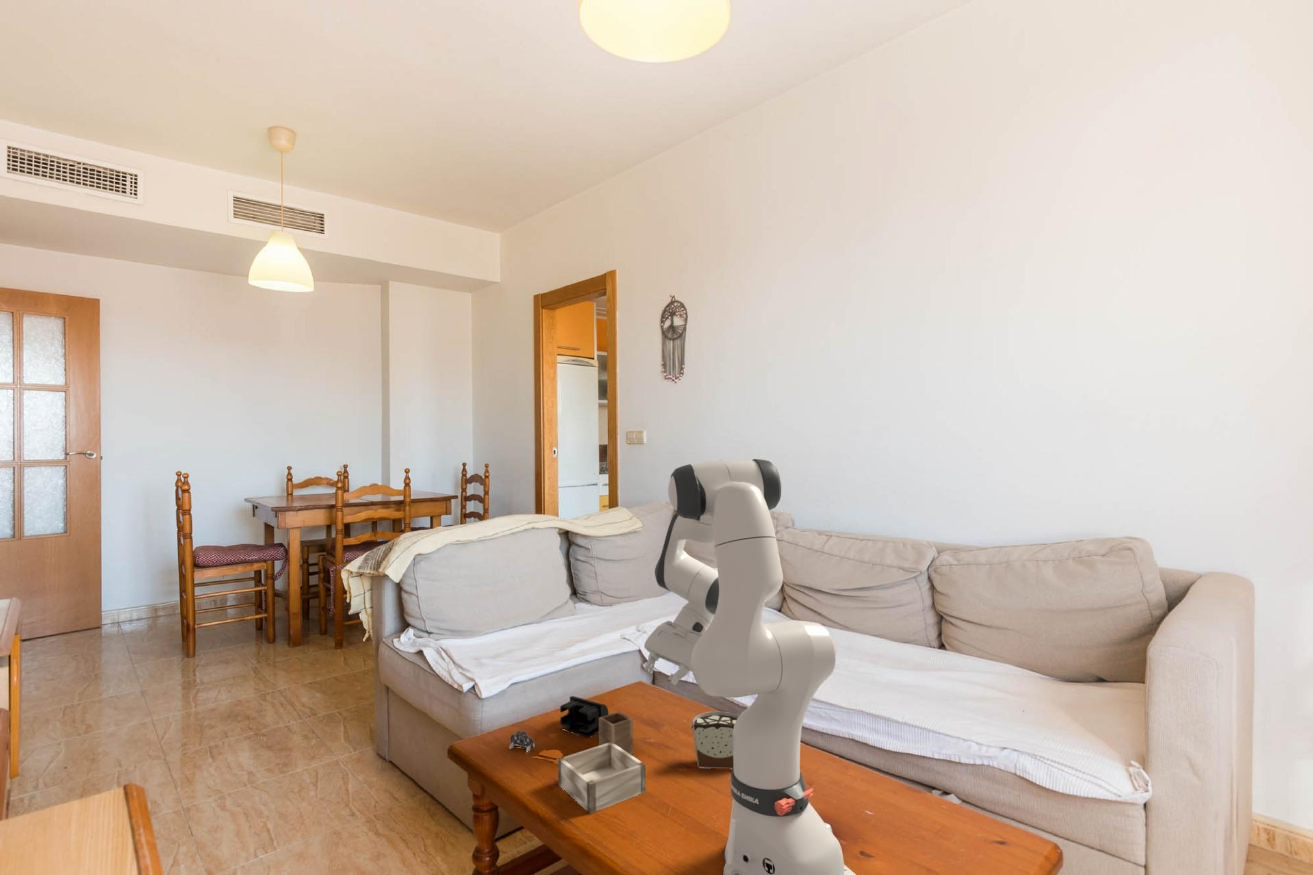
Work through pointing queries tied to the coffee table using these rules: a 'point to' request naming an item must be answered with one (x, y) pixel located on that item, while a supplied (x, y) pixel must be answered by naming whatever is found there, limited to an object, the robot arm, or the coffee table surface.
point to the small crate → (617, 731)
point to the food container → (714, 739)
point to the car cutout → (521, 741)
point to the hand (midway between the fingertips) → (659, 677)
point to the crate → (601, 776)
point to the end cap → (582, 716)
